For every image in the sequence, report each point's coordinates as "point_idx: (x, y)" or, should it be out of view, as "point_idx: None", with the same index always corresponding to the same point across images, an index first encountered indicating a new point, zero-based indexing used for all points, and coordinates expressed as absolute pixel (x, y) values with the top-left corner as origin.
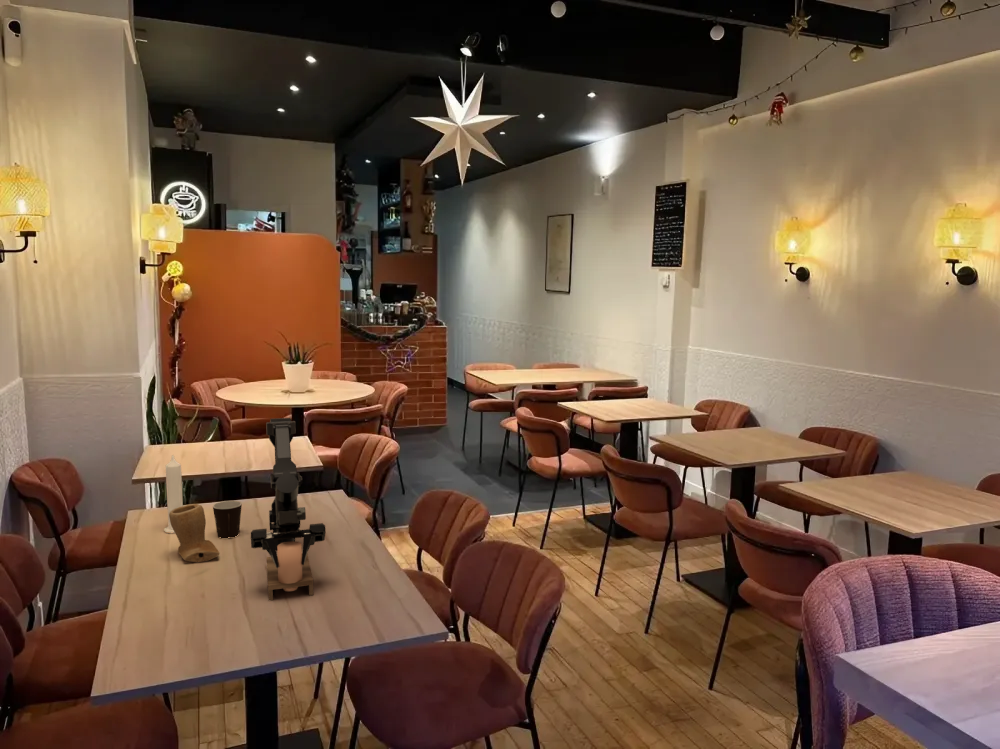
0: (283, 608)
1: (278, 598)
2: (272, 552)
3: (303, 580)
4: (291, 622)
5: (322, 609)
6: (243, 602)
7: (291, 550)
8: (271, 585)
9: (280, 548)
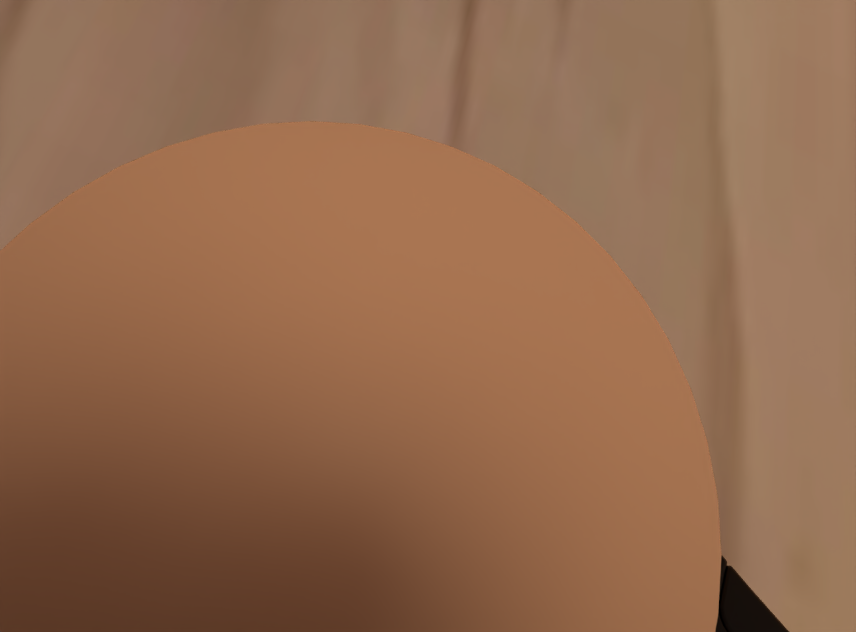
0: None
1: None
2: (741, 599)
3: None
4: (486, 13)
5: (267, 83)
6: (735, 445)
7: (348, 147)
8: None
9: (641, 351)
